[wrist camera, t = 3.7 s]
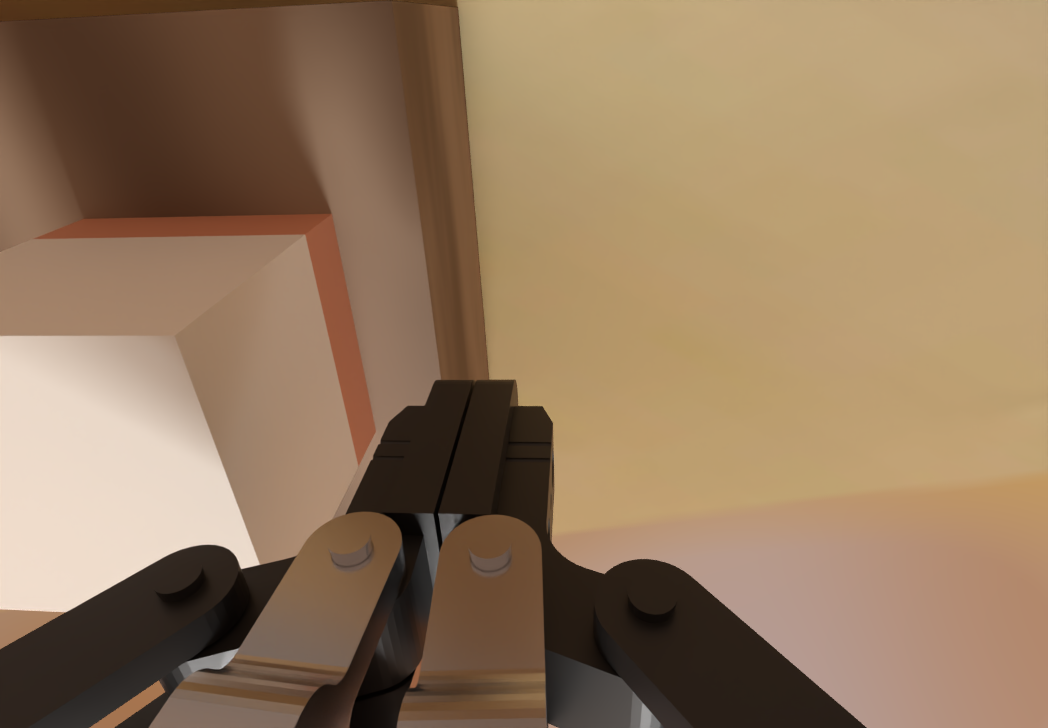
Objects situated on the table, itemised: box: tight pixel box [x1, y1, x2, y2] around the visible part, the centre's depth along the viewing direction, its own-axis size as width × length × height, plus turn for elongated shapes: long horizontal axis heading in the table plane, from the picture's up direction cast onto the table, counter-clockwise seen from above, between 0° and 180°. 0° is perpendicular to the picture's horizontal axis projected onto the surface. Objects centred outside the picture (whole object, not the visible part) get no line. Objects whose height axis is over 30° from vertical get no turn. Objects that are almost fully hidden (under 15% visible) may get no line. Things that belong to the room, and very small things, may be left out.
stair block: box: [0, 0, 489, 519], centre depth 19 cm, size 28×14×7 cm, turn 92°
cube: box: [0, 214, 376, 612], centre depth 13 cm, size 6×6×6 cm
